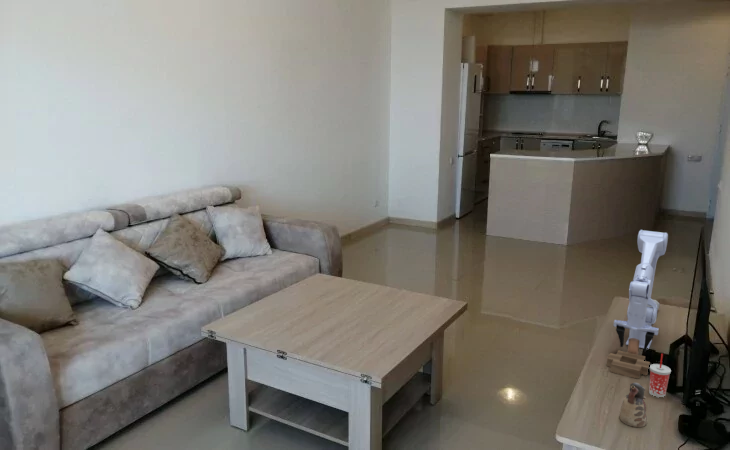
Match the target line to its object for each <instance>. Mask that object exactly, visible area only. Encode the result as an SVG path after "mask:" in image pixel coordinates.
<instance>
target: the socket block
mask: <svg viewBox="0 0 730 450" xmlns="http://www.w3.org/2000/svg"><path fill="white" fill-rule="evenodd" d="M644 360H645V361H644ZM649 365H651V362H650V361H647V360H646V356H645V355H641V354H638V355H637V354H633V353H628V351H622V350H619V349H618V350H617V352H616V353H611V352H610V353H609V354H608V355H607V359H606V367H609V368H610V371H609V372H610V373H613V374H616V375H617V374H618V375H621V376H625V377H629V378H634V379H636V380H637V379H638V380H639V379H640V377H641V375H642V374H643V375H642V376H646V375H647V376H648V374H649V372H648V369H649V370H650V367H649Z"/></svg>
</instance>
